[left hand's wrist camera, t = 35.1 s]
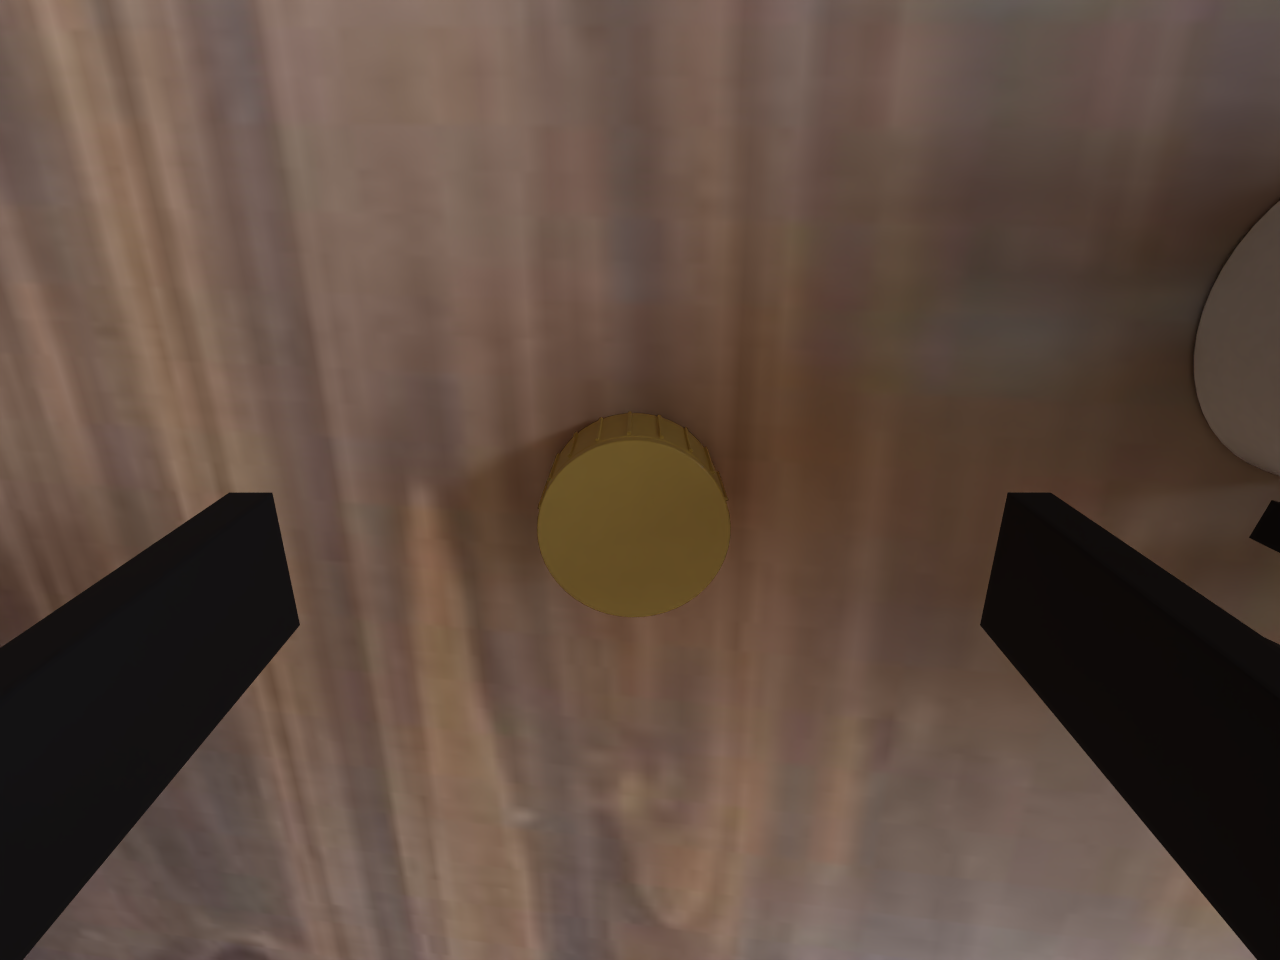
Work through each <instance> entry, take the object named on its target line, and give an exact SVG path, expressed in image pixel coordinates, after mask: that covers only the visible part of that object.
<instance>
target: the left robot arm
mask: <svg viewBox="0 0 1280 960" xmlns="http://www.w3.org/2000/svg"><path fill="white" fill-rule="evenodd" d="M299 625H300V623H299V619H298V614H297V609H296V604H295V599H294V595H293V590H292V585H291V580H290V575H289V571H288V566H287V561H286V556H285V551H284V547H283V542H282V537H281V532H280V527H279V523H278V518H277V513H276V508H275V503H274V499H273V494H272V493H228V494H227V495H225V496H224V497H222V498H221V499H219V500H218V501H216V502H215V503H213V504H212V505H210V506H209V507H207V508H206V509H205V510H203V511H202V512H200V513H199V514H197V515H196V516H194V517H193V518H191V519H190V520H188V521H187V522H185V523H184V524H182V525H181V526H179V527H178V528H177V529H175V530H174V531H172V532H171V533H169V534H168V535H166V536H165V537H163V538H162V539H160V540H159V541H157V542H156V543H154V544H153V545H151V546H150V547H149V548H147V549H146V550H144V551H143V552H141V553H140V554H138V555H137V556H135V557H134V558H132V559H131V560H129V561H128V562H126V563H125V564H123V565H122V566H121V567H119V568H118V569H116V570H115V571H113V572H112V573H110V574H109V575H107V576H106V577H104V578H103V579H101V580H100V581H98V582H97V583H95V584H94V585H93V586H91V587H90V588H88V589H87V590H85V591H84V592H82V593H81V594H79V595H78V596H76V597H75V598H73V599H72V600H70V601H69V602H67V603H66V604H65V605H63V606H62V607H60V608H59V609H57V610H56V611H54V612H53V613H51V614H50V615H48V616H47V617H45V618H44V619H42V620H41V621H39V622H38V623H37V624H35V625H34V626H32V627H31V628H29V629H28V630H26V631H25V632H23V633H22V634H20V635H19V636H17V637H16V638H14V639H13V640H11V641H10V642H9V643H7V644H6V645H4V646H3V647H1V648H0V960H23V959H24V958H25V957H26V955H27V954H28V953H29V952H30V950H31V949H32V948H33V947H34V946H35V944H36V943H37V942H38V941H39V940H40V938H41V937H42V936H43V935H44V934H45V932H46V931H47V930H48V929H49V928H50V926H51V925H52V924H53V923H54V921H55V920H56V919H57V918H58V917H59V915H60V914H61V913H62V912H63V911H64V909H65V908H66V907H67V906H68V905H69V903H70V902H71V901H72V900H73V899H74V897H75V896H76V895H77V894H78V892H79V891H80V890H81V889H82V888H83V886H84V885H85V884H86V883H87V882H88V880H89V879H90V878H91V877H92V876H93V874H94V873H95V872H96V871H97V870H98V868H99V867H100V866H101V865H102V863H103V862H104V861H105V860H106V859H107V857H108V856H109V855H110V854H111V853H112V851H113V850H114V849H115V848H116V847H117V845H118V844H119V843H120V842H121V841H122V839H123V838H124V837H125V836H126V834H127V833H128V832H129V831H130V830H131V828H132V827H133V826H134V825H135V824H136V822H137V821H138V820H139V819H140V818H141V816H142V815H143V814H144V813H145V812H146V810H147V809H148V808H149V807H150V805H151V804H152V803H153V802H154V801H155V799H156V798H157V797H158V796H159V795H160V793H161V792H162V791H163V790H164V789H165V787H166V786H167V785H168V784H169V783H170V781H171V780H172V779H173V778H174V776H175V775H176V774H177V773H178V772H179V770H180V769H181V768H182V767H183V766H184V764H185V763H186V762H187V761H188V760H189V758H190V757H191V756H192V755H193V754H194V752H195V751H196V750H197V749H198V747H199V746H200V745H201V744H202V743H203V741H204V740H205V739H206V738H207V737H208V735H209V734H210V733H211V732H212V731H213V729H214V728H215V727H216V726H217V725H218V723H219V722H220V721H221V720H222V718H223V717H224V716H225V715H226V714H227V712H228V711H229V710H230V709H231V708H232V706H233V705H234V704H235V703H236V702H237V700H238V699H239V698H240V697H241V696H242V694H243V693H244V692H245V691H246V689H247V688H248V687H249V686H250V685H251V683H252V682H253V681H254V680H255V679H256V677H257V676H258V675H259V674H260V673H261V671H262V670H263V669H264V668H265V667H266V665H267V664H268V663H269V662H270V660H271V659H272V658H273V657H274V656H275V654H276V653H277V652H278V651H279V650H280V648H281V647H282V646H283V645H284V644H285V642H286V641H287V640H288V639H289V638H290V636H291V635H292V634H293V633H294V632H295V630H296V629H297V628H298V627H299ZM980 625H981V627H982V628H983V629H984V630H985V632H986V633H987V634H988V635H989V636H990V638H991V639H992V640H993V641H994V642H995V644H996V645H997V646H998V647H999V648H1000V650H1001V651H1002V652H1003V653H1004V654H1005V656H1006V657H1007V658H1008V659H1009V660H1010V662H1011V663H1012V664H1013V665H1014V667H1015V668H1016V669H1017V670H1018V671H1019V673H1020V674H1021V675H1022V676H1023V677H1024V679H1025V680H1026V681H1027V682H1028V683H1029V685H1030V686H1031V687H1032V688H1033V689H1034V691H1035V692H1036V693H1037V694H1038V696H1039V697H1040V698H1041V699H1042V700H1043V702H1044V703H1045V704H1046V705H1047V706H1048V708H1049V709H1050V710H1051V711H1052V712H1053V714H1054V715H1055V716H1056V717H1057V718H1058V720H1059V721H1060V722H1061V723H1062V725H1063V726H1064V727H1065V728H1066V729H1067V731H1068V732H1069V733H1070V734H1071V735H1072V737H1073V738H1074V739H1075V740H1076V741H1077V743H1078V744H1079V745H1080V746H1081V747H1082V749H1083V750H1084V751H1085V752H1086V754H1087V755H1088V756H1089V757H1090V758H1091V760H1092V761H1093V762H1094V763H1095V764H1096V766H1097V767H1098V768H1099V769H1100V770H1101V772H1102V773H1103V774H1104V775H1105V776H1106V778H1107V779H1108V780H1109V781H1110V783H1111V784H1112V785H1113V786H1114V787H1115V789H1116V790H1117V791H1118V792H1119V793H1120V795H1121V796H1122V797H1123V798H1124V799H1125V801H1126V802H1127V803H1128V804H1129V805H1130V807H1131V808H1132V809H1133V810H1134V812H1135V813H1136V814H1137V815H1138V816H1139V818H1140V819H1141V820H1142V821H1143V822H1144V824H1145V825H1146V826H1147V827H1148V828H1149V830H1150V831H1151V832H1152V833H1153V834H1154V836H1155V837H1156V838H1157V839H1158V841H1159V842H1160V843H1161V844H1162V845H1163V847H1164V848H1165V849H1166V850H1167V851H1168V853H1169V854H1170V855H1171V856H1172V857H1173V859H1174V860H1175V861H1176V862H1177V863H1178V865H1179V866H1180V867H1181V868H1182V870H1183V871H1184V872H1185V873H1186V874H1187V876H1188V877H1189V878H1190V879H1191V880H1192V882H1193V883H1194V884H1195V885H1196V886H1197V888H1198V889H1199V890H1200V891H1201V892H1202V894H1203V895H1204V896H1205V897H1206V899H1207V900H1208V901H1209V902H1210V903H1211V905H1212V906H1213V907H1214V908H1215V909H1216V911H1217V912H1218V913H1219V914H1220V915H1221V917H1222V918H1223V919H1224V920H1225V921H1226V923H1227V924H1228V925H1229V926H1230V928H1231V929H1232V930H1233V931H1234V932H1235V934H1236V935H1237V936H1238V937H1239V938H1240V940H1241V941H1242V942H1243V943H1244V944H1245V946H1246V947H1247V948H1248V949H1249V950H1250V952H1251V953H1252V954H1253V955H1254V957H1255V958H1256V959H1257V960H1280V645H1279V644H1277V643H1275V642H1273V641H1271V640H1268V639H1266V638H1264V637H1263V636H1261V635H1260V634H1258V633H1257V632H1255V631H1254V630H1252V629H1251V628H1249V627H1248V626H1246V625H1245V624H1243V623H1242V622H1241V621H1239V620H1238V619H1236V618H1235V617H1233V616H1232V615H1230V614H1229V613H1227V612H1226V611H1224V610H1223V609H1221V608H1220V607H1218V606H1217V605H1215V604H1214V603H1213V602H1211V601H1210V600H1208V599H1207V598H1205V597H1204V596H1202V595H1201V594H1199V593H1198V592H1196V591H1195V590H1193V589H1192V588H1190V587H1189V586H1187V585H1186V584H1185V583H1183V582H1182V581H1180V580H1179V579H1177V578H1176V577H1174V576H1173V575H1171V574H1170V573H1168V572H1167V571H1165V570H1164V569H1162V568H1161V567H1159V566H1158V565H1157V564H1155V563H1154V562H1152V561H1151V560H1149V559H1148V558H1146V557H1145V556H1143V555H1142V554H1140V553H1139V552H1137V551H1136V550H1134V549H1133V548H1131V547H1130V546H1129V545H1127V544H1126V543H1124V542H1123V541H1121V540H1120V539H1118V538H1117V537H1115V536H1114V535H1112V534H1111V533H1109V532H1108V531H1106V530H1105V529H1103V528H1102V527H1101V526H1099V525H1098V524H1096V523H1095V522H1093V521H1092V520H1090V519H1089V518H1087V517H1086V516H1084V515H1083V514H1081V513H1080V512H1078V511H1077V510H1075V509H1074V508H1073V507H1071V506H1070V505H1068V504H1067V503H1065V502H1064V501H1062V500H1061V499H1059V498H1058V497H1056V496H1055V495H1053V494H1052V493H1008V494H1007V499H1006V503H1005V508H1004V513H1003V518H1002V523H1001V527H1000V532H999V537H998V542H997V547H996V551H995V556H994V561H993V566H992V571H991V575H990V580H989V585H988V590H987V595H986V599H985V604H984V609H983V614H982V619H981V623H980Z"/></svg>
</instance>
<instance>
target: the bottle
mask: <svg viewBox="0 0 1280 960" xmlns="http://www.w3.org/2000/svg"><path fill="white" fill-rule="evenodd" d="M1194 381H1195V387H1196V394H1197V397H1198V400H1199V404H1200V407H1201V410H1202V413H1203V415H1204V416H1205V418H1206V420H1207V422H1208V424H1209V426H1210V428H1211V429H1212V431H1213V432H1214V433H1215V435H1216V436H1217V437H1218V438H1219V440H1220V441H1221V442H1222V443H1223V444H1224V445H1225V446H1226V447H1227V448H1228V449H1229V450H1230V451H1231V452H1232V453H1233V454H1235V455H1236V456H1238V457H1239V458H1241V459H1242V460H1244V461H1245V462H1247V463H1249V464H1251V465H1253V466H1255V467H1257V468H1260V469H1262V470H1264V471H1267V472H1269V473H1272V474H1275V475H1277V476H1280V201H1278V202H1277V203H1276V204H1275V205H1274V206H1272V207H1271V208H1270V209H1269V210H1268V211H1267V212H1266V214H1265V215H1264V216H1263V217H1262V218H1261V219H1260V220H1259V221H1258V222H1257V223H1256V224H1255V225H1254V226H1253V227H1252V228H1251V229H1250V231H1249V232H1248V233H1247V234H1246V235H1245V237H1244V238H1243V239H1242V240H1241V242H1240V243H1239V244H1238V245H1237V247H1236V248H1235V250H1234V251H1233V253H1232V254H1231V256H1230V257H1229V259H1228V260H1227V262H1226V263H1225V265H1224V266H1223V268H1222V270H1221V272H1220V273H1219V275H1218V277H1217V279H1216V281H1215V283H1214V285H1213V287H1212V289H1211V291H1210V293H1209V296H1208V299H1207V301H1206V304H1205V306H1204V309H1203V311H1202V315H1201V319H1200V322H1199V326H1198V330H1197V334H1196V341H1195V349H1194Z"/></svg>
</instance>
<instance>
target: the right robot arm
mask: <svg viewBox="0 0 1280 960" xmlns="http://www.w3.org/2000/svg"><path fill="white" fill-rule="evenodd" d="M1249 538H1251V539H1253V540H1255V541H1257V542H1259V543H1261V544H1263V545H1265V546H1267V547H1269V548H1271V549H1273V550H1275V551H1277V552H1279V553H1280V502H1276V501H1271V502H1270V504H1269V506H1268V507H1267V509H1266V511H1265V512H1264V514H1263V515H1262V517H1261V519H1260V520H1259V522H1258V524H1257V525H1256V527H1255V529H1254V530H1253V532H1252V534H1251V535H1250V537H1249Z"/></svg>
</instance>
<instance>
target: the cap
mask: <svg viewBox="0 0 1280 960" xmlns="http://www.w3.org/2000/svg"><path fill="white" fill-rule="evenodd" d="M726 501H728V497H727V495H726V492H725V489H724V486H723V483H722V480H721V477H720V474H719V471H718V472H716V470H715V467H714V465H713V462H712V460H711V457H710V454H709V451H708V449H707V447H703V446H702V444H701V443H700V442H699V441H698V440H697V439H696V438H695V437H694V436H693V435H692V434H691V433H690V432H688V428H686V427H684V428H683V427H681V426H680V425H678V424H676V423H674V422H672V421H670V420H667V419H665V418H662V417H661V415H658V416H654V415H650V414H642V413H632V412H628V413H625V414H619V415H613V416H610V417H606V418H602V417H601V418H599V421H596V422H594V423H592V424H590V425H589V426H587V427H585V428H584V429H582V430H581V431H580V432H579V433H577V432H575V433H574V436H573V438H572V439H571V440H570V441H569V442H568V443H567V444H566V446H565V447H564V449H563V450H562V451H561V453H560V454H559V453H557V455H556V458H555V461H554V463H553V466H552V469H551V472H550V474H549V477H548V480H547V483H546V485H545V488H544V491H543V494H542V497H541V499H540V502H539V505H538V509H539V514H538V520H537V536H538V543H539V548H540V552H541V555H542V557H543V560H544V562H545V564H546V566H547V568H548V570H549V572H550V573H551V575H552V576H553V578H554V579H555V580H556V582H557V583H558V584H559V585H560V586H561V587H562V588H563V589H564V590H565V591H566V592H567V593H568V594H570V595H571V596H572V597H573V598H574V599H576V600H578V601H579V602H581V603H582V604H584V605H586V606H588V607H590V608H592V609H595V610H597V611H600V612H603V613H606V614H611V615H616V616H623V617H645V616H652V615H657V614H661V613H665V612H668V611H670V610H673V609H675V608H678V607H680V606H682V605H683V604H685V603H687V602H689V601H690V600H692V599H693V598H694V597H696V596H697V595H698V594H699V593H701V592H702V591H703V590H704V589H705V588H706V587H707V586H708V585H709V583H710V582H711V581H712V580H713V579H714V577H715V576H716V574H717V573H718V571H719V570H720V568H721V566H722V563H723V561H724V559H725V557H726V553H727V550H728V547H729V540H730V528H731V526H730V516H729V511H728V507H727V503H726Z"/></svg>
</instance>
